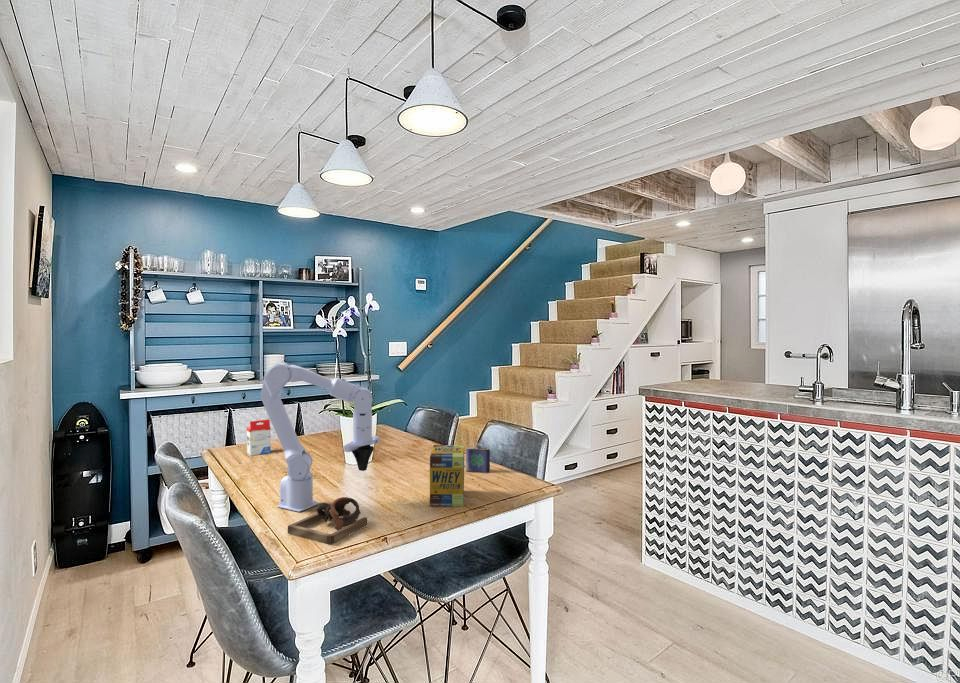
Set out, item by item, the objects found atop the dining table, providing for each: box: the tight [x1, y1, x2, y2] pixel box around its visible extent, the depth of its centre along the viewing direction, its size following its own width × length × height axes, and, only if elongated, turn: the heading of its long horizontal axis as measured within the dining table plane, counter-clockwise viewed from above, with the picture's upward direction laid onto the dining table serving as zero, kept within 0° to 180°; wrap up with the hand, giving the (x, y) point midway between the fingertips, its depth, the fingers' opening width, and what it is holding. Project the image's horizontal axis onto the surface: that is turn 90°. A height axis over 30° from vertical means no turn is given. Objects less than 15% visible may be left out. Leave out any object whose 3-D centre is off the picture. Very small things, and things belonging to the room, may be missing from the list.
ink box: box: [246, 418, 272, 457], centre depth 213 cm, size 8×5×15 cm, turn 130°
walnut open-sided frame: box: [287, 510, 368, 545], centre depth 133 cm, size 15×14×2 cm
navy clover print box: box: [465, 442, 491, 474], centre depth 188 cm, size 9×3×11 cm, turn 79°
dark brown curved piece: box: [315, 496, 361, 531], centre depth 137 cm, size 12×10×8 cm
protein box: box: [429, 444, 465, 507], centre depth 158 cm, size 10×15×16 cm
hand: (362, 470), depth 155 cm, fingers closed
